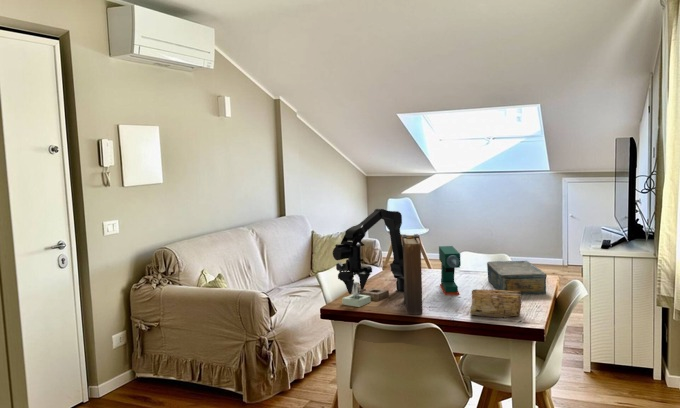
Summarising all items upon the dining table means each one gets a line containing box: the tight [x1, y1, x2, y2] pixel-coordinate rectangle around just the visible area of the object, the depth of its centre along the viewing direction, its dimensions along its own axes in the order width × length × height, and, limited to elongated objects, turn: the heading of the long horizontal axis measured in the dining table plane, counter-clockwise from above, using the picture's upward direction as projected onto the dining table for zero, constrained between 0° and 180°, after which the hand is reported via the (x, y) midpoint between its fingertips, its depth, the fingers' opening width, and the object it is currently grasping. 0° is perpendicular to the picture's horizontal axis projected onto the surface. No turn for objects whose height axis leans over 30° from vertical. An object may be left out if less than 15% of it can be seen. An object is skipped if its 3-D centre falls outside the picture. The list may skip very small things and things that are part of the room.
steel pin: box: [352, 282, 360, 299], centre depth 244 cm, size 3×3×9 cm
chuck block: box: [362, 287, 390, 301], centre depth 253 cm, size 9×9×3 cm
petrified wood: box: [469, 288, 522, 318], centre depth 218 cm, size 19×13×10 cm
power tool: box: [438, 245, 462, 296], centre depth 254 cm, size 32×7×20 cm, turn 177°
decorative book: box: [401, 233, 424, 315], centre depth 233 cm, size 23×7×30 cm, turn 176°
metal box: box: [486, 260, 548, 296], centre depth 263 cm, size 21×32×10 cm, turn 176°
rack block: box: [341, 293, 371, 308], centre depth 244 cm, size 9×9×3 cm
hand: (356, 291), depth 244 cm, fingers open, 9 cm apart
